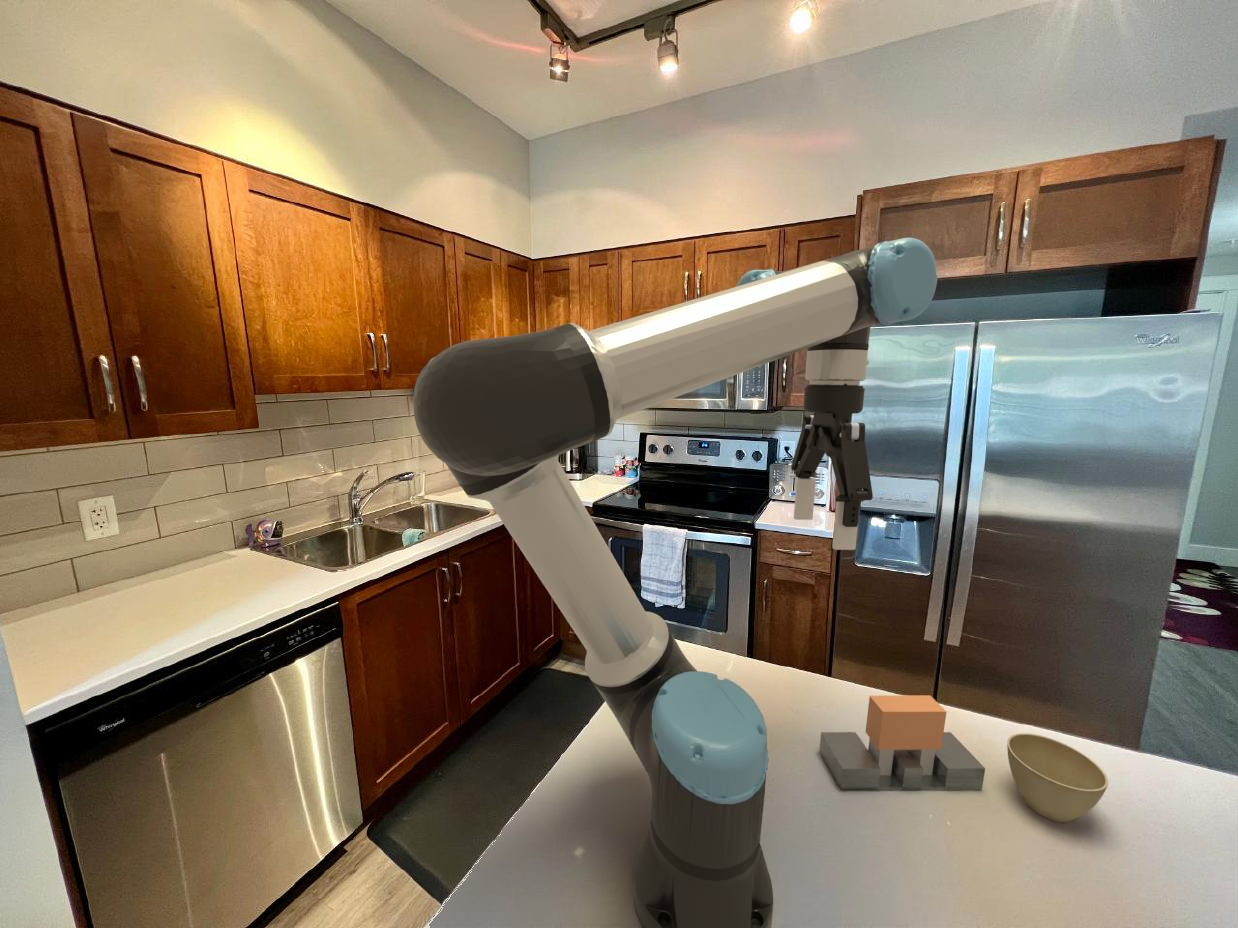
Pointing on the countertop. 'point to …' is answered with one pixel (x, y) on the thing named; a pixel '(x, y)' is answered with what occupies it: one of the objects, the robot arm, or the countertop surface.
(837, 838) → the countertop surface
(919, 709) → the orange block
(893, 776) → the grey block fixture
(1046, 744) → the beige planter bowl
